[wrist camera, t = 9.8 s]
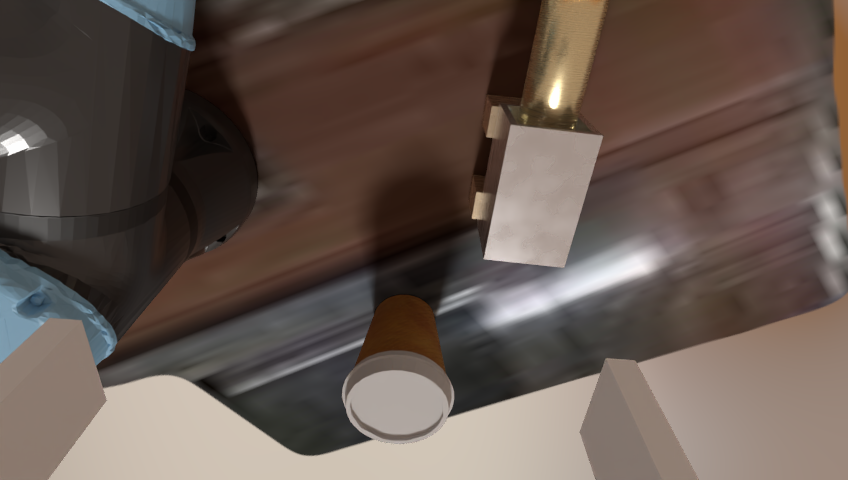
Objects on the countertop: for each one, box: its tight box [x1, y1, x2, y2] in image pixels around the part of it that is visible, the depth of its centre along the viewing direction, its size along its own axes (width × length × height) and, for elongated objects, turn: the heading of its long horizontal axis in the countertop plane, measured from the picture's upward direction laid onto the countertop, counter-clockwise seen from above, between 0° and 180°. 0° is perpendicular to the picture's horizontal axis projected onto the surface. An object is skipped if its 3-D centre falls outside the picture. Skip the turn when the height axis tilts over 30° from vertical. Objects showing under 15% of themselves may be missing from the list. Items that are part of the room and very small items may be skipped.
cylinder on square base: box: [517, 0, 609, 130], centre depth 32 cm, size 5×20×6 cm, turn 173°
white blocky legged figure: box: [469, 94, 603, 268], centre depth 38 cm, size 7×10×10 cm
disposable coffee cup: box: [342, 295, 454, 444], centre depth 46 cm, size 10×10×12 cm
